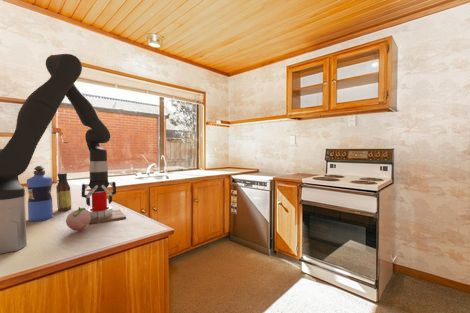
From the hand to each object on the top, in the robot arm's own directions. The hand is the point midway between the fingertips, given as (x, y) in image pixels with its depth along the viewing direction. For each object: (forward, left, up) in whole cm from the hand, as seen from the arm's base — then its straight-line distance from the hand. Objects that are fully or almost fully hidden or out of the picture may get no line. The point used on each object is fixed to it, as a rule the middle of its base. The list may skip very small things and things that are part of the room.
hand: (99, 204), depth 114 cm
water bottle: (+16, +23, -7) cm, 29 cm away
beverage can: (0, 0, -6) cm, 6 cm away
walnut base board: (0, 0, -7) cm, 7 cm away
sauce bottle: (+29, +14, -7) cm, 33 cm away
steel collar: (0, 0, -7) cm, 7 cm away
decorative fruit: (-16, +9, -7) cm, 20 cm away
